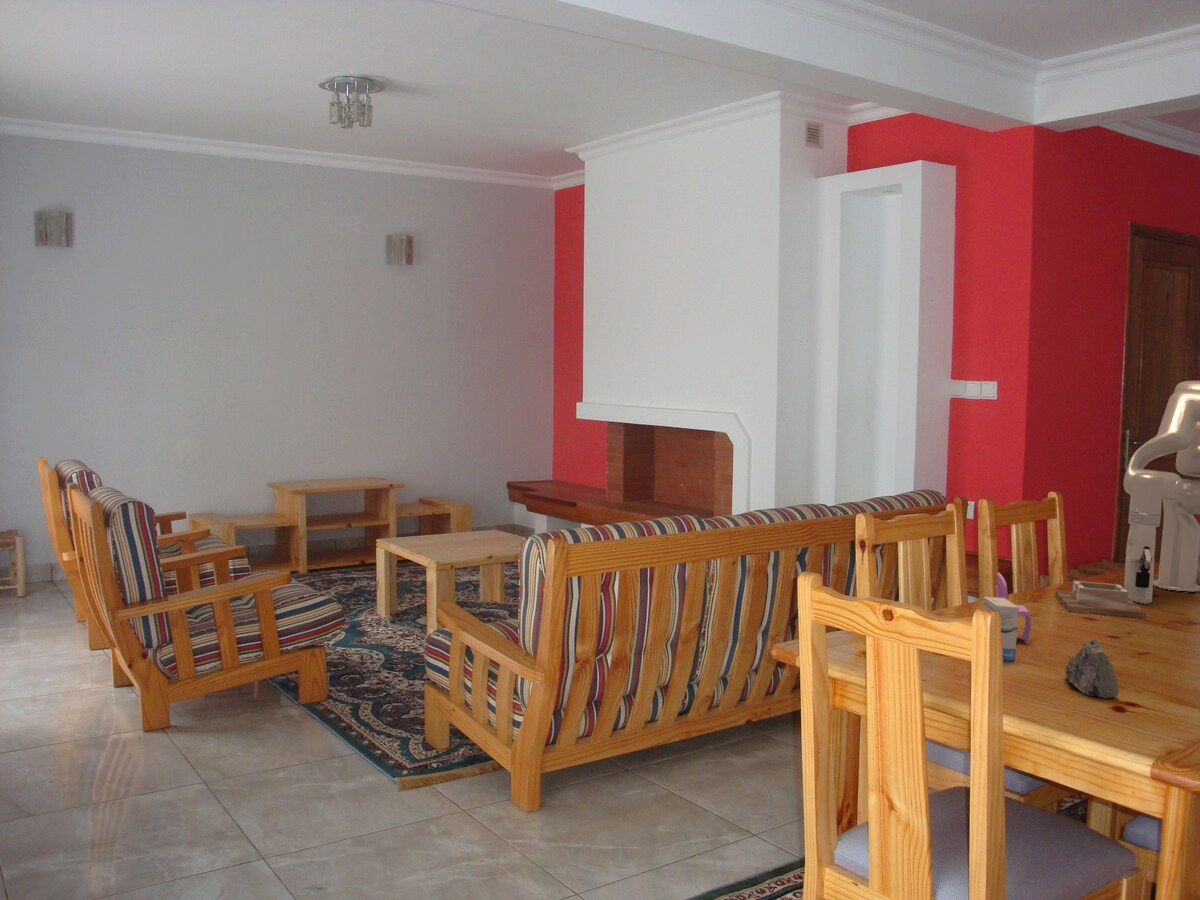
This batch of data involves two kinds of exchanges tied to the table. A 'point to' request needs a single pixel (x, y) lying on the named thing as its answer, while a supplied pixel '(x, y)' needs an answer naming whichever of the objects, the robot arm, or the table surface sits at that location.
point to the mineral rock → (1093, 671)
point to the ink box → (1005, 623)
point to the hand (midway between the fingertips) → (1138, 583)
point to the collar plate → (1099, 599)
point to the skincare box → (1130, 578)
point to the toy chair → (1002, 593)
